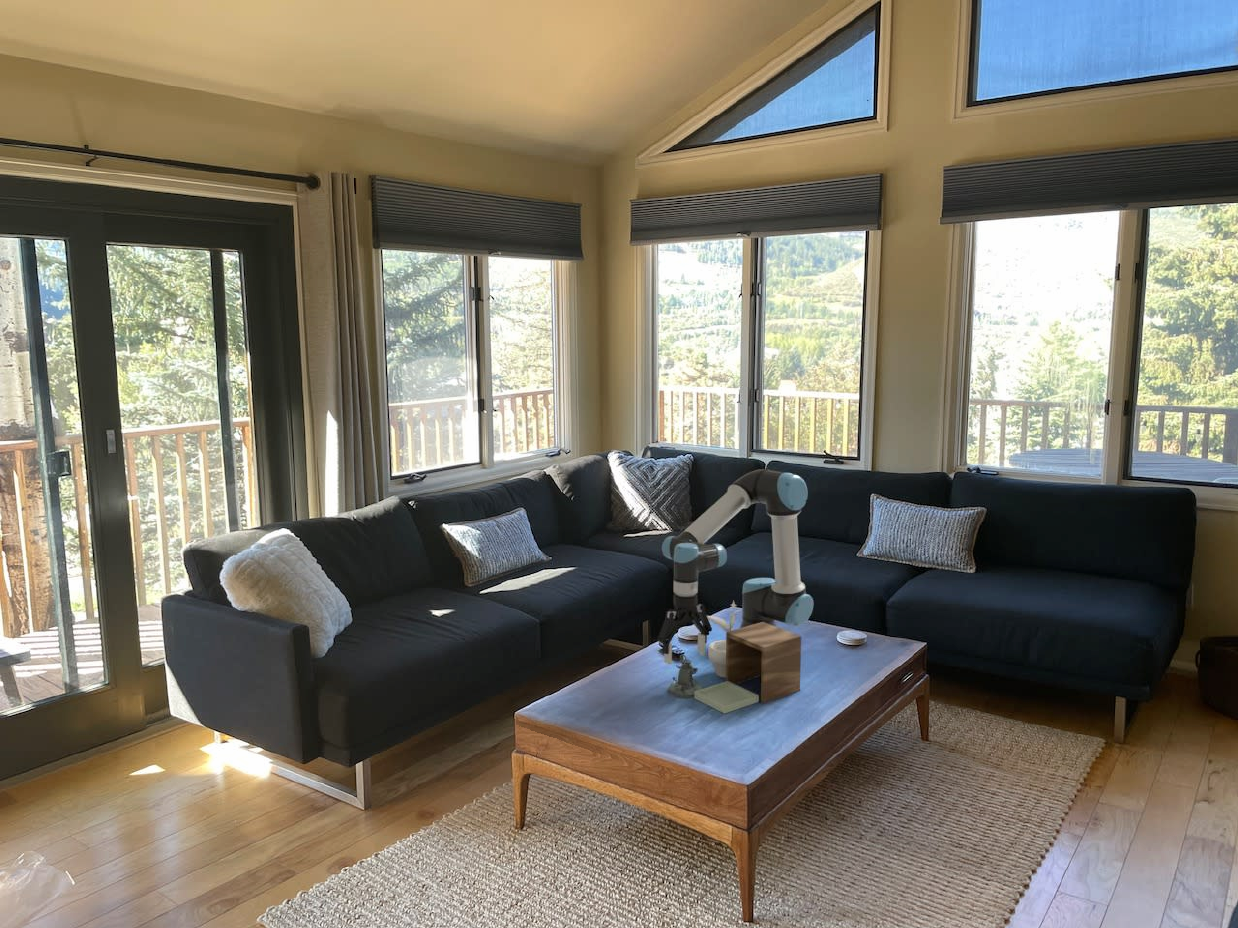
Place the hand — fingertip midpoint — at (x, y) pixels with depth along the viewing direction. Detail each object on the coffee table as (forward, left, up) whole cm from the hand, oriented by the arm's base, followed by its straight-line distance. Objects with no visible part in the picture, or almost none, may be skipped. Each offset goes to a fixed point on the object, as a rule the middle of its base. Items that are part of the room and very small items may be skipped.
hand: (684, 658), depth 301 cm
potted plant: (-3, +19, -11) cm, 22 cm away
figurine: (0, 0, -11) cm, 11 cm away
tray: (+13, +6, -11) cm, 18 cm away
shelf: (+13, +21, -11) cm, 27 cm away
